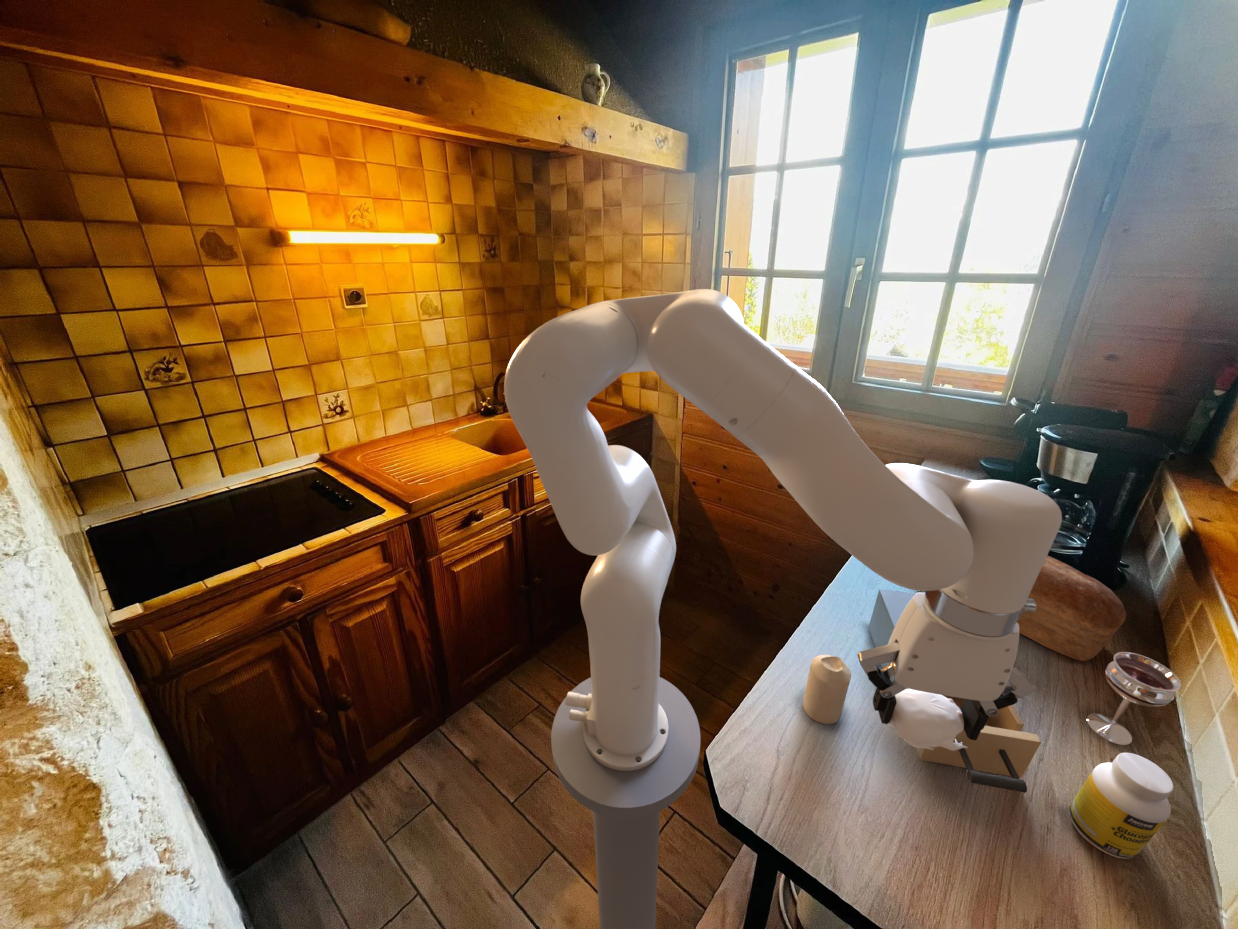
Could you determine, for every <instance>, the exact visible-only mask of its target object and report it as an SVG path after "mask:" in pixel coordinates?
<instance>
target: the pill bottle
mask: <svg viewBox="0 0 1238 929" xmlns="http://www.w3.org/2000/svg"><path fill="white" fill-rule="evenodd" d="M1174 788H1175V787H1174V783H1173V781H1172V779H1171V777H1170V776H1169V775H1168V773H1166V771H1165V770H1164V769H1162V768H1161V767H1160V766H1159V765H1157V764H1156V763H1154V762H1153V761H1151V760H1149V759H1147V758H1145V757H1143V756H1141V755H1139V754H1135V753H1133V752H1132V753H1131V752H1121V753H1118V754H1117V756H1116V757H1115V758H1114V759H1113V760H1112V761H1109V762H1103V763H1099V764H1098V765H1096V766H1095V767H1094V768H1093V770H1092V771H1091V772H1090V774H1089V775H1088V777H1087V778H1086V780H1085V782H1084V783H1083V784H1082V786H1081V788H1080V789H1079V791H1078V792H1077V794H1076V795H1075V797H1074V799H1073V800H1072V802H1071V803H1070V805H1069V809H1068V813H1069V818H1070V820H1071V823H1072V825H1073V826H1074V828H1075V829H1076V830H1077V832H1078V833H1079V834H1080V835H1081V836H1082V838H1084V839H1085V840H1086V841H1087V842H1088V843H1089V844H1091V845H1092V846H1093V847H1094V848H1096V849H1098V850H1099V851H1101V852H1103V853H1105V854H1107V855H1109V856H1112V857H1114V858H1117V859H1124V860H1127V859H1129V860H1130V859H1133V858H1136V857H1137V856H1138V855H1139V854H1140V853H1141V852H1142V850H1143V849H1144V848H1145V847H1146V846H1147V844H1148V843H1150V841H1151V840H1152V838H1153V837H1154V836H1155V835H1156V834H1157V832H1158V831H1159V830H1160V829H1161V827H1162V826H1163V825H1165V823H1166V822H1167V820H1168V819H1169V818H1170V816H1171V811H1172V810H1171V809H1172V808H1171V805H1170V804H1171V803H1170V802H1169V799H1168V798H1170V796H1171V794H1172V793H1173V791H1174Z"/></svg>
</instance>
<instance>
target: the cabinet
mask: <svg viewBox="0 0 1238 929" xmlns="http://www.w3.org/2000/svg"><path fill="white" fill-rule="evenodd" d="M915 594H916V593H914V592H906V591H897V590H891V589H890V590H889V589H878V592H877V595H876V599H875V603H874V606H873V610H872V614H871V617H870V621H869V625H868V630H869V633H870V637H871V639H872V642H873V645H874V648H876V647H880V646H884V645H887V644H888V642H889V639H890V637H891V635H892V632H893V630H894V628H895V626H896V624H897V621H898V619H899V617H900V616H901V614H902V612H903V610H904V609H905V607H906V606H907V604H908V603H909V601H910V600H911V599H912V598H913V596H914V595H915ZM892 662H894V661H891V662H887V663H883V664H880V667H881V669H882V668H884V667H886V666H887V665H889V664H890V663H892ZM890 680H891V682H892V681H894V680H895V676H894V677H892V678H891V679H890Z"/></svg>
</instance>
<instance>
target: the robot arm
mask: <svg viewBox="0 0 1238 929" xmlns="http://www.w3.org/2000/svg"><path fill="white" fill-rule="evenodd" d="M641 372H642V373H643V372H644V373H645V372H655V374H656V375H657V376H658V377H659V378H660V379H661V380H662V381H663V382H664V383H665V384H667V385H668V386H669V387H670V388H671V389H673V390H674V391H676V392H677V393H678V394H679V395H681V396H682V397H683V398H684V399H686V400H687V401H688V402H690V403H691V404H692V405H694V406H695V407H696V408H697V409H698V410H699V411H702V412H703V413H704V414H705V415H707V416H708V417H710V418H711V419H712V420H713V421H714V422H716V423H717V424H718V425H720V426H721V427H722V428H723V429H725V430H726V431H727V432H728V433H730V434H731V435H732V436H733V437H734V438H735V439H737V440H738V441H739V442H741V443H742V444H743V445H744V446H746V447H747V448H748V449H750V450H751V451H752V452H753V453H754V454H756V455H757V456H758V457H759V458H760V459H761V460H762V461H763V462H764V464H765V465H766V466H767V467H768V469H769V471H771V474H772V475H773V476H774V477H775V478H776V479H777V481H778V482H779V483H780V484H781V486H782V487H784V489H785V490H786V491H787V492H788V493H789V495H790V496H791V497H792V498H793V499H794V500H795V501H796V502H797V504H798V505H799V506H800V507H801V508H802V510H803V511H804V512H805V513H806V514H807V515H808V517H809V518H810V519H811V520H812V521H813V522H814V523H815V524H816V525H817V526H818V528H820V529H821V531H822V532H824V533H825V534H826V535H827V536H829V537H830V539H831V540H833V541H834V542H835V543H836V544H837V545H838V546H840V548H842V549H844V550H845V551H846V552H847V553H849V554H850V555H851V556H853V558H855V559H856V560H857V561H859V562H860V563H861V564H863V565H864V566H865V567H867V568H868V569H870V570H871V571H872V572H874V573H875V574H876V575H878V576H879V577H881V578H883V579H884V580H885V581H888V582H890V583H892V584H894V585H896V586H899V587H901V588H905V589H908V590H912V591H913V590H914V591H918V592H916V593H915V595H914V596H913V598H912V599H911V600H910V601H909V603H908V604H907V606H906V607H905V609H904V610H903V612H902V614H901V616H900V617H899V619H898V621H897V624H896V626H895V628H894V630H893V632H892V635H891V637H890V639H889V642H888V644H887V645H884V646H880V647H876V648H875V647H872V648H869V649H864V650H860V651H858V652H857V658H858V661H859V665H860V666H861V668H862V670H863V671H864V673H865V675H866V676H867V678H868V681H870V683H871V684H872V685H873V686H874V687H875V691H874V694H873V697H872V706H873V709H874V711H875V712H878V714H879V718H880V719H879V720H880V722H881V724H883V725H888V724H891V723H890V720H891V717H892V715H893V712H894V709H895V706H896V703H897V701H896V697H895V695H896V694H898V693H900V692H902V691H903V690H905V689H907V688H909V689H913V690H917V691H923V692H928V693H934V694H940V695H946V696H952V697H958V698H964V699H965V700H964V702H963V705H962V707H961V712H962V715H963V719H964V731H965V733H966V735H967V737H968V738H969V739H970V740H975V741H976V740H977V738H978V736H979V734H980V732H981V730H982V729H983V728H984V726H985V724H986V722H987V720H988V718H989V716H996V715H998V714H999V711H998V710H999V709H1002V708H1005V707H1008V706H1011V705H1013V706H1014V705H1016V704H1017V703H1018V699H1021V700H1022V699H1023V698H1025V697H1027V696H1030V695H1031V694H1033V693H1034V692H1035V693H1036V691H1037V688H1036V686H1035V685H1034V683H1033V681H1032V680H1031V679H1030V677H1029V676H1027V675H1026V674H1024V673H1023V672H1022V671H1020V670H1019V669H1017V668H1016V667H1014V666H1015V662H1016V659H1017V655H1018V650H1019V643H1020V642H1019V641H1020V633H1019V624H1018V620H1019V618H1020V616H1021V614H1022V613H1026V612H1030V613H1034V612H1035V611H1036V607H1037V606H1036V602H1035V600H1034V599H1030V598H1028V596H1029V594H1030V592H1031V590H1032V588H1033V585H1034V583H1035V581H1036V579H1037V577H1038V574H1039V572H1040V570H1041V568H1042V566H1043V564H1044V561H1045V559H1046V557H1047V555H1048V556H1049V552H1050V550H1051V548H1052V546H1053V544H1054V542H1055V539H1056V538H1057V535H1058V533H1059V530H1060V529H1061V526H1062V522H1063V515H1062V514H1063V513H1062V510H1061V508H1060V506H1059V504H1058V503H1057V502H1056V501H1055V500H1054V499H1052V498H1051V497H1050V496H1049V495H1047V494H1045V493H1044V492H1042V491H1040V490H1038V489H1036V488H1033V487H1030V486H1027V485H1025V484H1022V483H1017V482H1013V481H1007V480H1001V479H979V480H978V479H973V478H968V477H964V476H959V475H955V474H951V473H948V472H944V471H941V470H937V469H933V468H931V467H926V466H923V465H917V464H914V463H913V464H912V463H904V462H894V463H887V464H884V462H882V461H881V459H880V458H879V457H878V456H877V455H876V454H875V453H874V452H873V451H872V450H871V448H869V447H868V445H867V444H866V443H865V442H864V440H863V439H862V438H861V437H860V435H859V434H858V433H857V431H856V430H855V428H854V427H853V426H852V424H851V422H850V421H849V420H848V418H847V416H846V415H845V413H844V412H843V410H842V409H841V407H840V406H839V404H838V403H837V401H836V400H835V399H834V397H832V395H831V394H830V393H829V392H828V390H827V389H826V388H824V386H822V385H821V384H820V383H819V382H818V381H817V380H816V379H814V378H812V377H811V376H810V375H809V374H807V372H805V371H803V370H802V369H801V368H800V367H798V366H797V365H796V364H794V363H793V362H792V361H791V360H789V359H788V358H787V357H786V356H785V355H783V354H782V353H780V352H779V351H778V350H777V349H775V348H774V347H773V346H772V345H771V344H769V343H768V342H767V341H765V340H764V339H763V338H762V337H760V336H759V334H757V333H755V332H754V331H753V330H752V329H751V328H749V327H748V326H747V325H745V323H744V317H743V315H742V313H741V310H740V308H739V307H738V305H737V303H736V302H735V301H734V300H733V299H732V298H731V297H730V296H728V295H727V294H726V293H723V292H722V291H719V290H716V289H710V288H697V289H696V288H695V289H691V290H683V291H677V292H669V293H663V294H654V295H645V296H644V295H643V296H635V297H626V298H618V299H617V298H616V299H609V300H603V301H598V302H594V303H591V304H588V305H585V306H582V307H580V308H578V309H575V310H571V311H569V312H566V313H564V314H561V315H559V316H557V317H554V318H552V319H550V320H548V321H546V322H545V323H543V324H542V325H540V326H538V327H537V328H536V329H534V330H533V331H532V332H531V333H530V334H529V335H527V336H526V338H525V339H523V340H522V342H521V343H520V344H519V345H518V347H516V349H515V351H514V352H513V354H512V355H511V358H510V360H509V362H508V364H507V368H506V370H505V375H504V384H503V392H504V400H505V404H506V407H507V411H508V413H509V416H510V419H511V421H512V423H513V425H514V427H515V429H516V430H517V432H518V435H519V436H520V437H521V439H522V442H523V444H524V445H525V447H526V449H527V451H528V453H529V455H530V457H531V460H532V461H533V464H534V466H535V469H536V472H537V475H538V477H539V480H540V481H541V484H542V486H543V489H544V491H545V494H546V496H547V498H548V501H549V504H550V505H551V508H552V511H553V512H554V515H555V517H556V519H557V522H558V525H559V526H560V528H561V531H562V532H563V534H564V536H565V538H566V539H567V541H568V542H569V544H570V545H572V547H573V548H574V549H576V550H577V551H578V552H580V553H581V554H585V555H588V556H596V557H595V560H593V561H594V562H593V563H592V565H591V567H590V569H589V570H588V571H587V572H588V573H587V574H586V576H585V579H584V581H583V585H582V588H581V593H580V608H581V612H582V616H583V619H584V622H585V625H586V631H587V637H588V638H587V640H588V654H589V665H590V677H591V688H592V694H590V693H589V694H588V696H587V695H581V694H580V693H574V692H571V691H568V692H567V694H566V696H565V698H566V705H567V706H573V707H582V708H586V712H581V711H578V710H573V709H571V710H570V713H569V720H574V721H582V722H584V723H583V735H584V741H585V744H586V747H587V749H588V750H589V752H590V753H591V755H592V756H593V757H594V758H595V759H596V760H597V761H598V762H600V763H601V764H602V765H604V766H606V767H608V768H611V769H614V770H619V771H633V770H638V769H641V768H643V767H646V766H648V765H649V764H651V763H652V762H654V761H655V760H656V759H657V758H658V757H659V756H660V754H661V753H662V752H663V750H664V748H665V746H666V743H667V739H668V728H669V727H668V720H667V717H666V714H665V712H664V710H663V708H662V707H661V705H660V704H659V677H660V675H661V672H660V670H661V629H660V622H659V618H660V617H659V616H660V611H661V604H662V600H663V597H664V594H665V591H666V588H667V585H668V581H669V578H670V574H671V571H672V569H673V566H674V562H675V558H676V553H677V544H676V543H677V542H676V536H675V533H674V529H673V526H672V523H671V520H670V517H669V515H668V512H667V509H666V506H665V503H664V500H663V497H662V494H661V491H660V489H659V486H658V483H657V480H656V477H655V474H654V473H653V471H652V469H651V467H650V465H649V464H648V463H647V461H646V460H645V459H644V458H643V457H642V455H640V454H639V453H638V452H636V451H635V450H633V449H631V448H629V447H627V446H624V445H619V444H611V445H610V444H608V441H607V437H606V435H605V433H604V431H603V429H602V427H601V425H600V423H599V422H598V420H597V419H596V417H595V416H594V415H593V414H592V413H591V412H590V410H589V408H588V404H589V402H590V401H591V400H592V399H593V398H594V397H596V396H597V395H598V394H600V393H601V392H603V391H604V390H605V389H607V387H609V386H610V385H611V384H613V383H614V382H615V381H616V380H618V378H620V377H621V376H622V375H623V374H629V373H641ZM891 661H894V662H892V663H890V664H889V665H887V666H886V667H884V668H882V667H881V668H880V667H879V666H880V665H881V664H883V663H887V662H891ZM894 676H895V680H894V681H892V682H891V680H890V679H891V678H892V677H894Z"/></svg>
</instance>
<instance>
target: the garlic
mask: <svg viewBox="0 0 1238 929" xmlns="http://www.w3.org/2000/svg"><path fill="white" fill-rule="evenodd" d="M895 697H896V701H897V703H896V706H895V709H894V712H893V715H892V717H891V720H890V723H889V724H890V725H891V726H892V728H893V729H894V730H895V731H896V733H897V734H898V735H899V736H900V738H902V739H903V740H904V741H905V742H906V743H907V744H908V745H909V746H911V747H913V748H915V749H918V748H923V749H931V750H934V749H933V748H930V747H937V746H939V747H943V748H946V749H949V750H952V751H954V750H958V749H961V748H968V747H966V746H963V745H962V743H963V742H961V743H958V742H957V740H956V739H955V743H954V742H953V740H954V738H955V737H956V735H957V734H959V733H960V732H961V731H962V730H963V728H964V719H963V715H962V712H961V709H960V708H959V707H957V705H956V704H955V703H954V702H953V700H952V699H948V698H946V697H944V696H943V695H940V694H934V693H928V692H923V691H917V690H913V689H905V690H903V691H902V692H900V693H898V694H896V695H895Z"/></svg>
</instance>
